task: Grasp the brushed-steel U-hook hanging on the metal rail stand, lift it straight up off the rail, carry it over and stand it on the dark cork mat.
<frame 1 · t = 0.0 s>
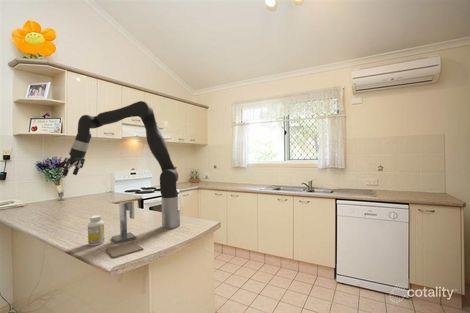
hand: (69, 175, 130), 31 cm above the worktop, tool tilted 20°, fingers open, 8 cm apart
hook: (126, 204, 109), point 18 cm above the worktop, touching rail stand
supplement bottle: (96, 243, 108), on the worktop
rail stand: (123, 238, 113), on the worktop
cork mat: (124, 249, 99), on the worktop
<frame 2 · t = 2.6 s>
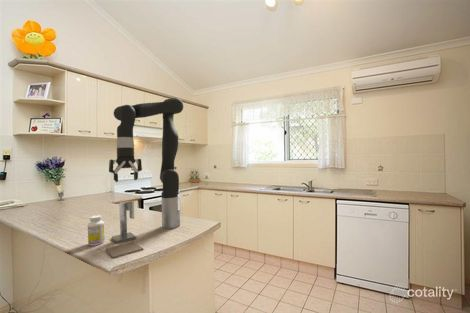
hand: (126, 180, 109), 29 cm above the worktop, tool pointing down, fingers open, 8 cm apart
nothing on the worktop moved.
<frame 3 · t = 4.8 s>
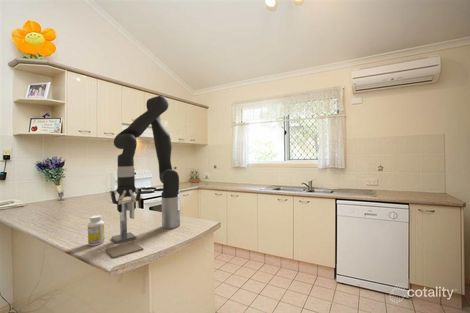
hand: (126, 210, 109), 15 cm above the worktop, tool pointing down, fingers closed on hook, 5 cm apart
hook: (126, 204, 109), point 18 cm above the worktop, touching gripper, rail stand
everything else where it was.
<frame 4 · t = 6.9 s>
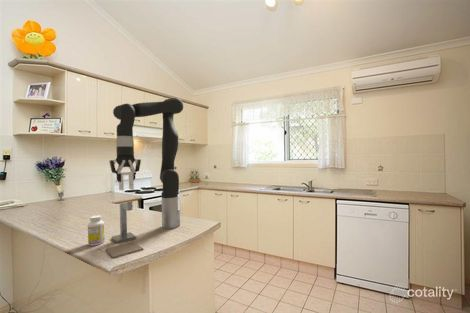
hand: (126, 181, 109), 29 cm above the worktop, tool pointing down, fingers closed on hook, 5 cm apart
hook: (126, 174, 109), point 32 cm above the worktop, touching gripper
everything else where it was.
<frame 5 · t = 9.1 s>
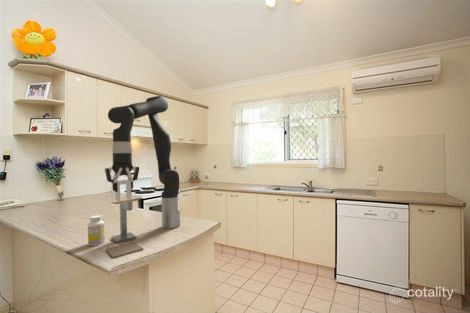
hand: (123, 190, 100), 26 cm above the worktop, tool pointing down, fingers closed on hook, 5 cm apart
hook: (122, 183, 100), point 29 cm above the worktop, touching gripper
everything else where it was.
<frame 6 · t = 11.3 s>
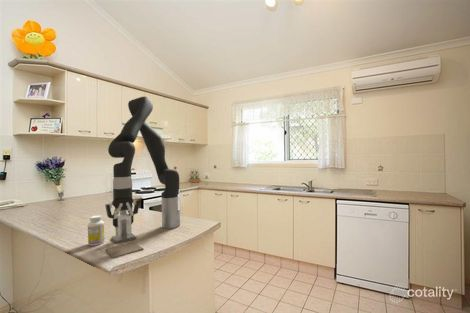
hand: (123, 225, 100), 11 cm above the worktop, tool pointing down, fingers closed on hook, 5 cm apart
hook: (123, 218, 100), point 14 cm above the worktop, touching gripper
everything else where it was.
when the fingers open (6 cm above the worktop, at t = 13.4 s): hook drops 1 cm, resting on cork mat.
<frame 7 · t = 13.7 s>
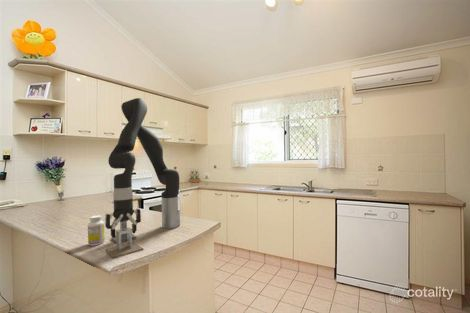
hand: (124, 235, 100), 6 cm above the worktop, tool pointing down, fingers open, 7 cm apart
hook: (124, 232, 100), point 8 cm above the worktop, touching cork mat
everything else where it was.
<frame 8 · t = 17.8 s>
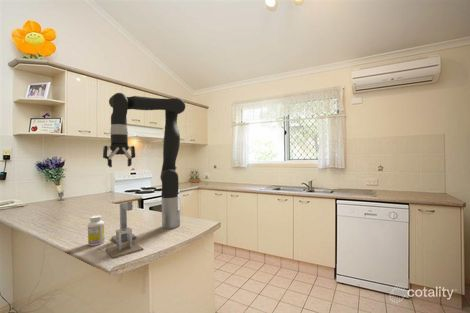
hand: (119, 166, 113), 36 cm above the worktop, tool pointing down, fingers open, 8 cm apart
nothing on the worktop moved.
at the end: hook inside the target area on the cork mat (0.1 cm from its centre), point 7.6 cm above the cork mat's base; hook touching cork mat; the gripper is holding nothing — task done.
